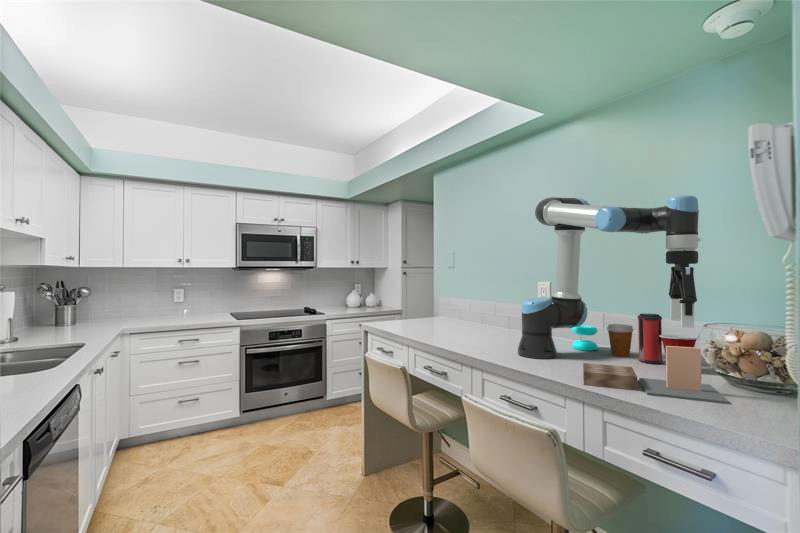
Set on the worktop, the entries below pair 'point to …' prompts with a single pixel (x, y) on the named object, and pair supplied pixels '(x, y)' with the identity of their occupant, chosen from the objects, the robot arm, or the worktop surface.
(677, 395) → the mat
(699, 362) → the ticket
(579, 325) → the robot arm
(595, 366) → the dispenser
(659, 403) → the worktop surface
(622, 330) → the disposable coffee cup
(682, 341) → the plastic cup
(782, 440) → the worktop surface
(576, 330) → the turquoise double disc piece
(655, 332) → the speaker
